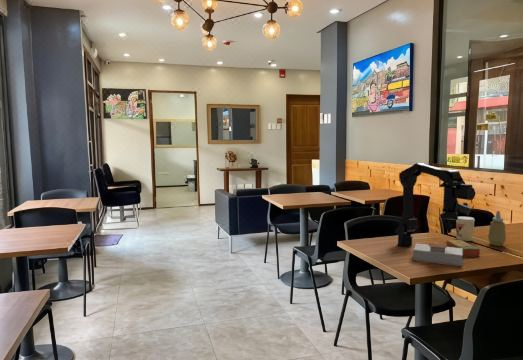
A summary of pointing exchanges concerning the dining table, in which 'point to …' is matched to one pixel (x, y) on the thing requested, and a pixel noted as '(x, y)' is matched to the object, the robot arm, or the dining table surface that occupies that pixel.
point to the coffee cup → (464, 228)
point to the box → (437, 258)
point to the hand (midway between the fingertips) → (449, 230)
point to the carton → (464, 248)
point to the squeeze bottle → (497, 231)
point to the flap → (438, 249)
